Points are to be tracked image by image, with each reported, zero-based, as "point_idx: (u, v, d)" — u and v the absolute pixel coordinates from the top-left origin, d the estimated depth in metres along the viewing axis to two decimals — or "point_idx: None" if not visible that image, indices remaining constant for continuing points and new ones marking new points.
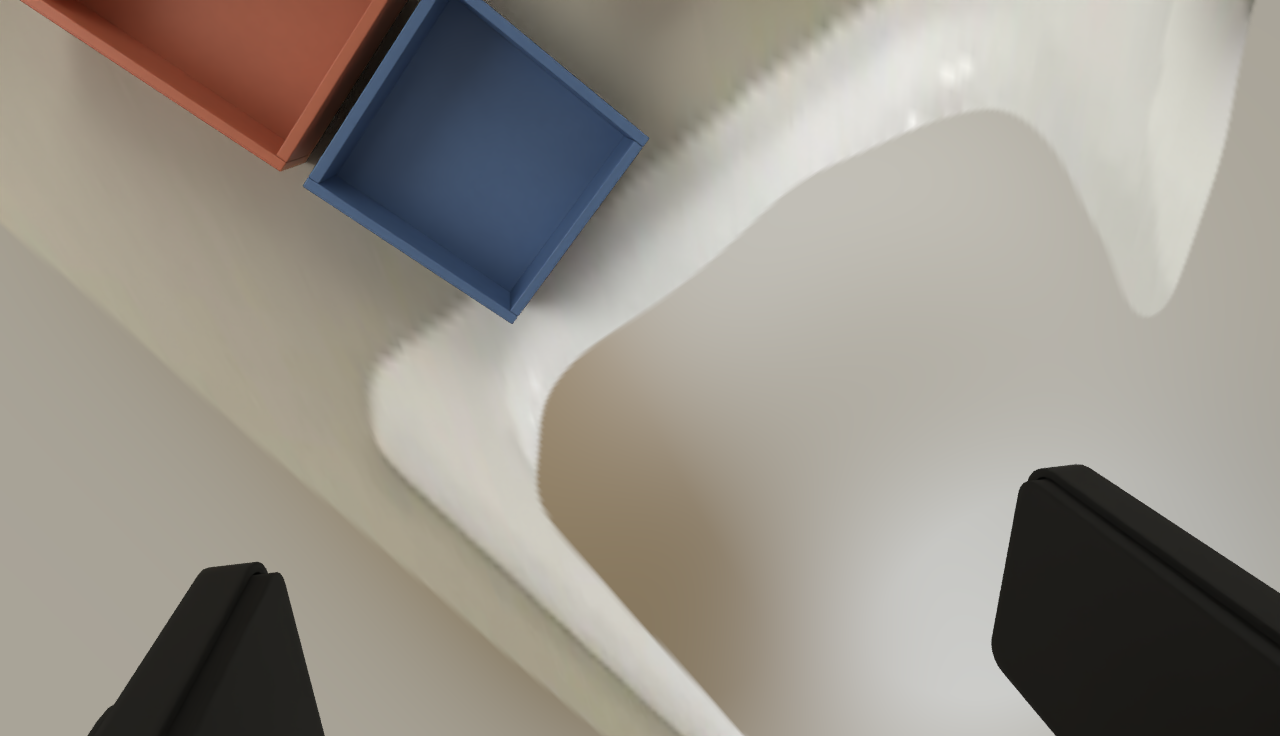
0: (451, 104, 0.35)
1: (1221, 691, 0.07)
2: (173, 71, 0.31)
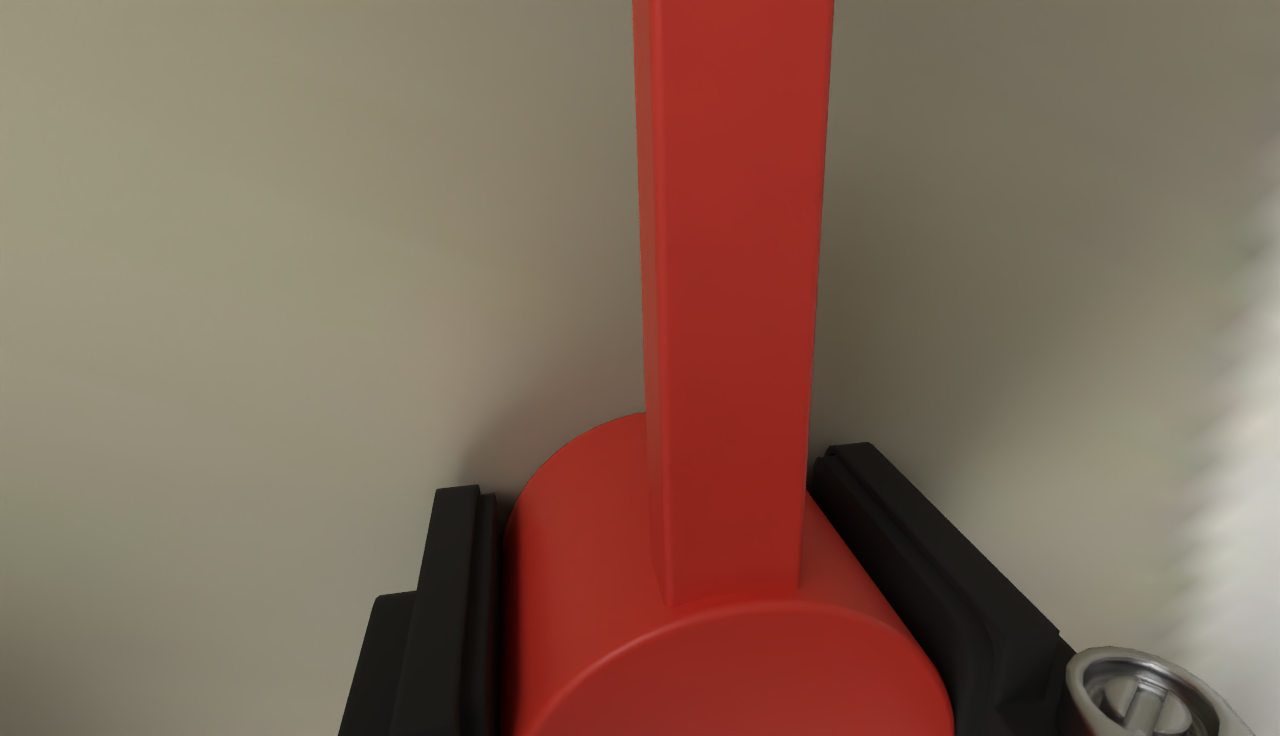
0: None
1: (923, 638, 0.07)
2: None
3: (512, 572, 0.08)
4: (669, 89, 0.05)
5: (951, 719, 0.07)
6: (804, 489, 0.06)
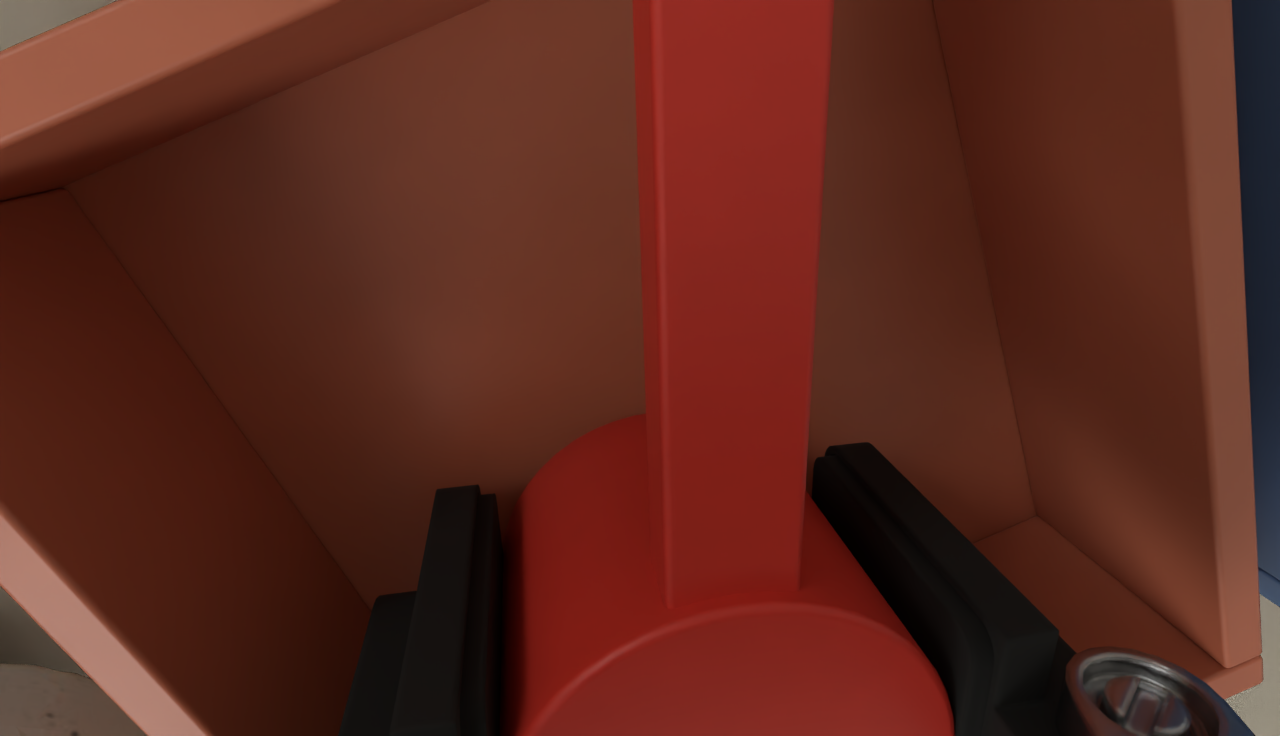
0: None
1: (922, 638, 0.07)
2: None
3: (513, 572, 0.08)
4: (669, 93, 0.05)
5: (950, 720, 0.07)
6: (804, 491, 0.06)
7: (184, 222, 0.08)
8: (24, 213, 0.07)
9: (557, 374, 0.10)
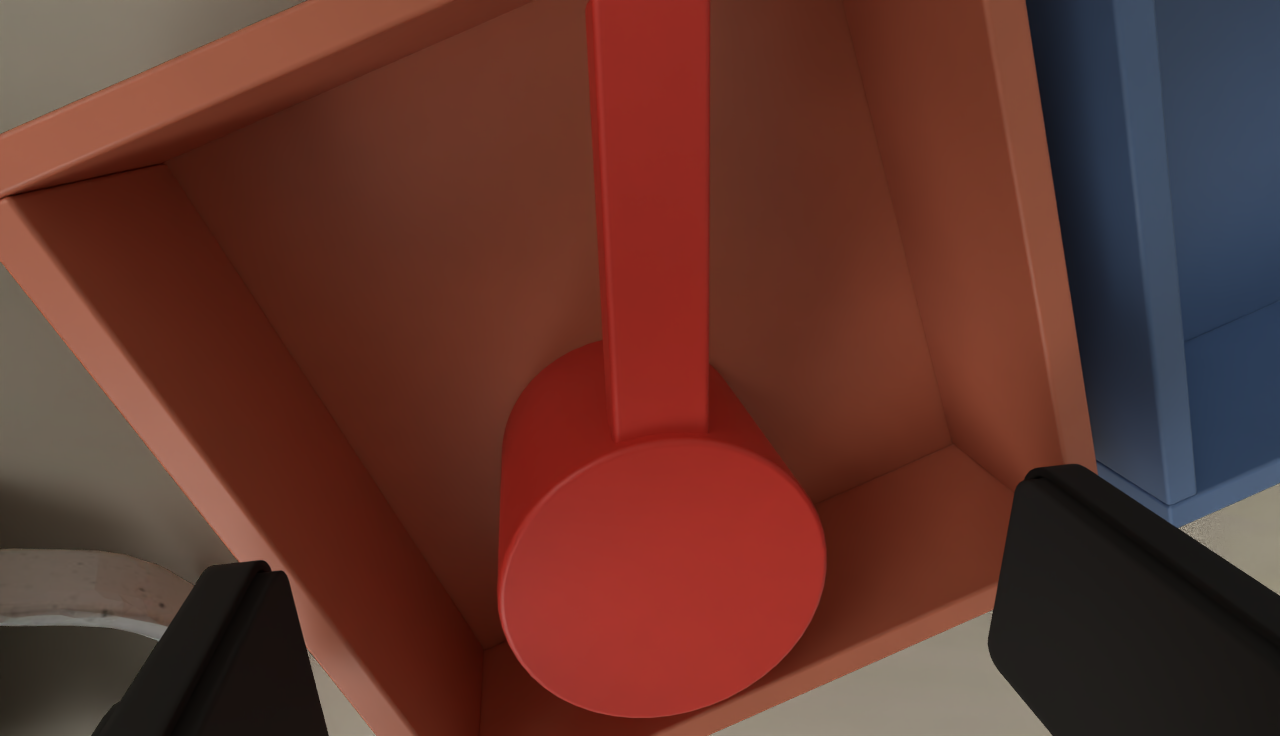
0: None
1: (1215, 689, 0.07)
2: None
3: (509, 451, 0.11)
4: (606, 85, 0.07)
5: (822, 536, 0.10)
6: (707, 358, 0.09)
7: (255, 191, 0.11)
8: (142, 180, 0.09)
9: (549, 317, 0.12)
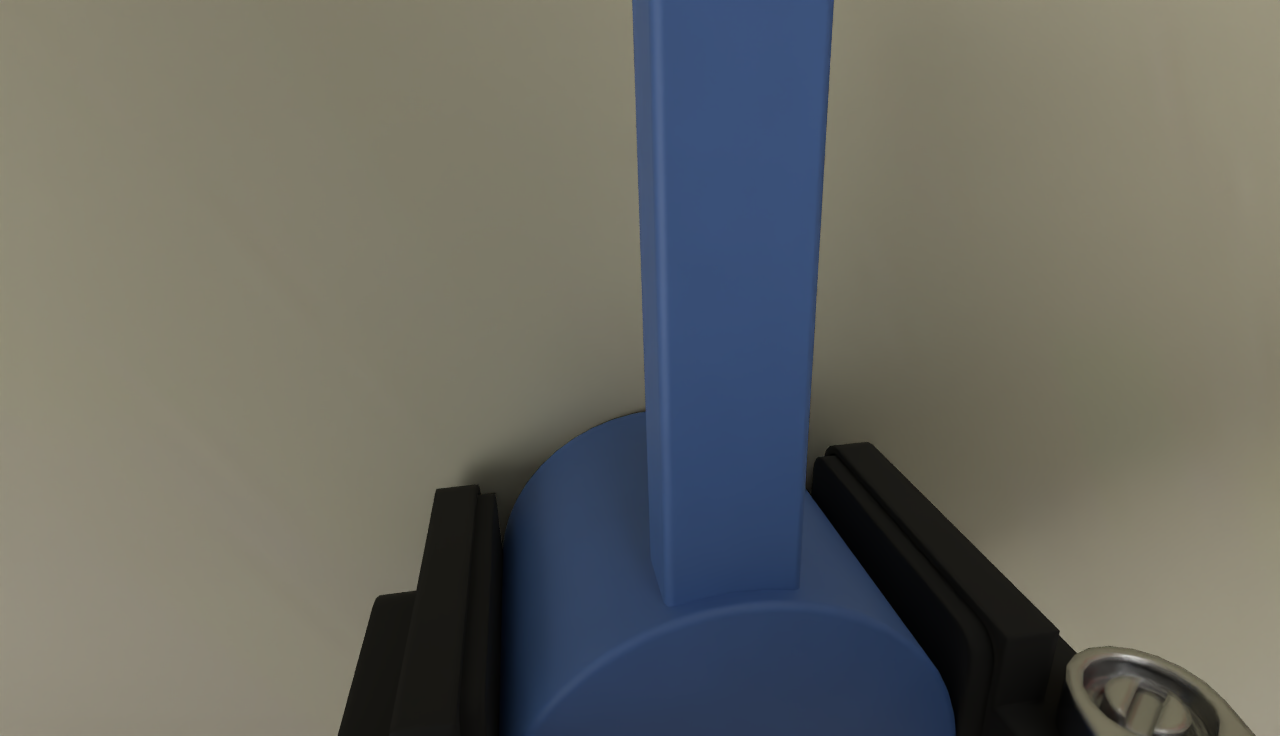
0: None
1: (923, 638, 0.07)
2: None
3: None
4: None
5: None
6: None
7: None
8: None
9: None
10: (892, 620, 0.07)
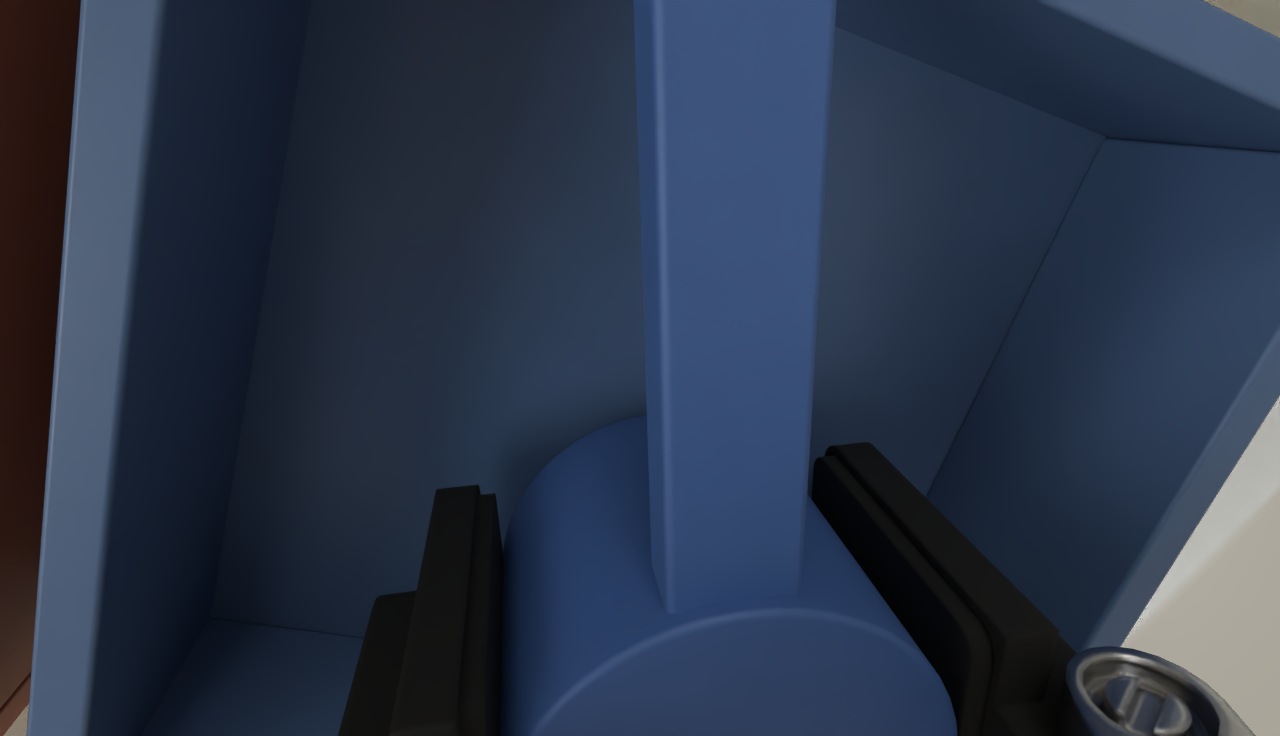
0: (490, 262, 0.09)
1: (922, 638, 0.07)
2: None
3: None
4: None
5: None
6: None
7: None
8: None
9: None
10: (894, 627, 0.06)
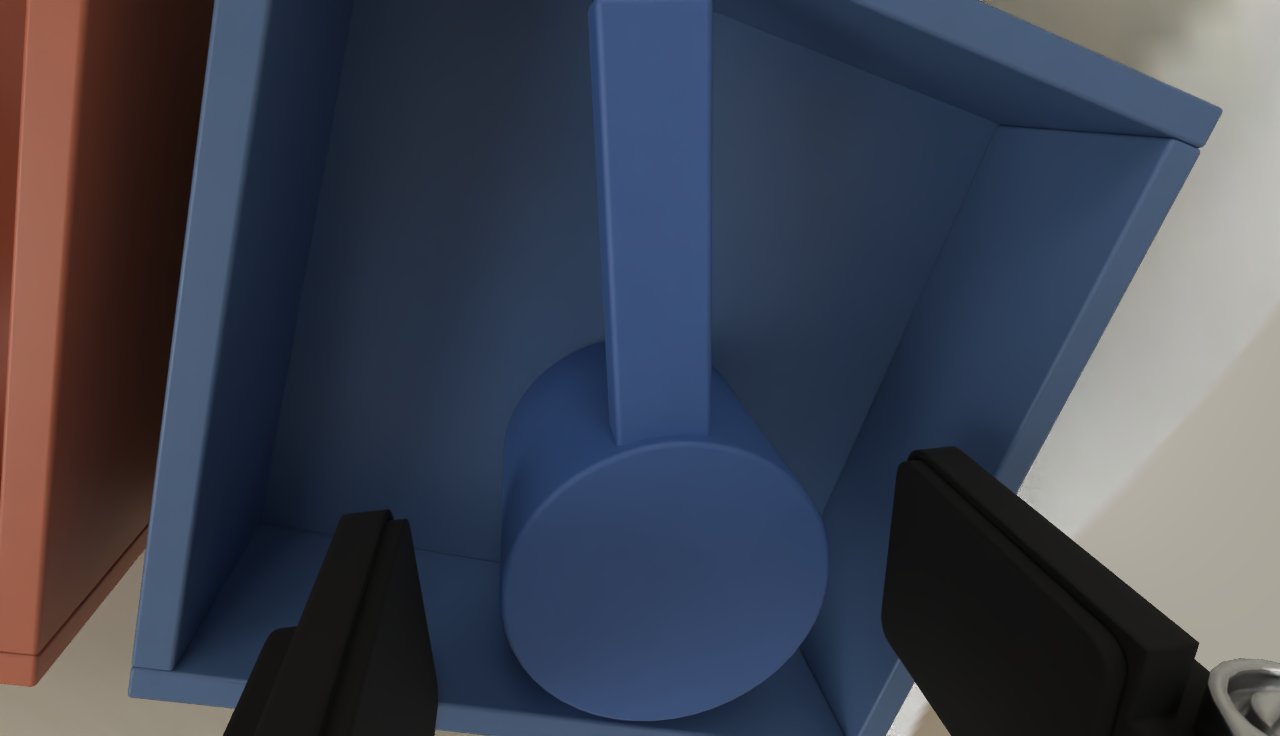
0: (492, 225, 0.11)
1: (1039, 649, 0.07)
2: None
3: None
4: None
5: None
6: None
7: None
8: None
9: None
10: (779, 463, 0.09)
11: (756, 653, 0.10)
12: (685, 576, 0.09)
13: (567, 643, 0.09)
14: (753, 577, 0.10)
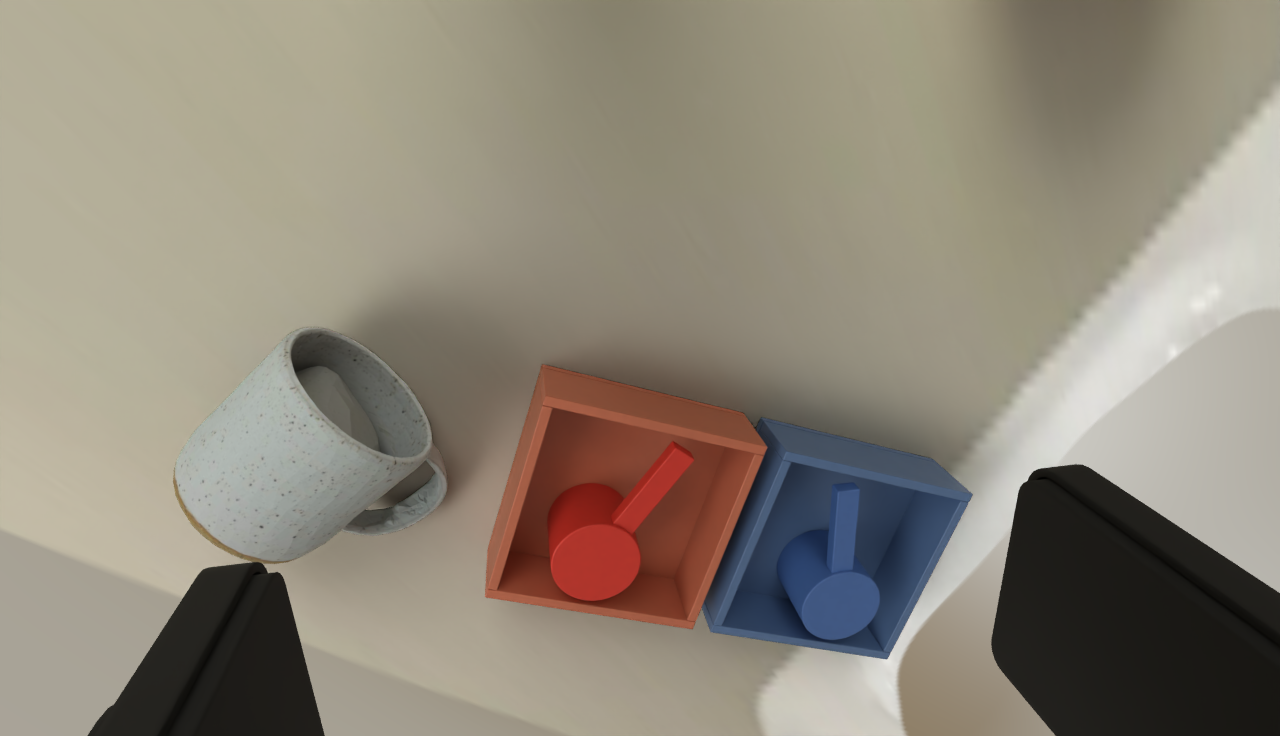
0: (783, 503, 0.40)
1: (1221, 691, 0.07)
2: None
3: (571, 502, 0.36)
4: (666, 462, 0.34)
5: (636, 574, 0.35)
6: (644, 519, 0.35)
7: None
8: None
9: (600, 471, 0.38)
10: (868, 575, 0.38)
11: (860, 622, 0.39)
12: (845, 602, 0.38)
13: (815, 619, 0.38)
14: (861, 603, 0.38)
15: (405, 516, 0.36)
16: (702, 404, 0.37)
